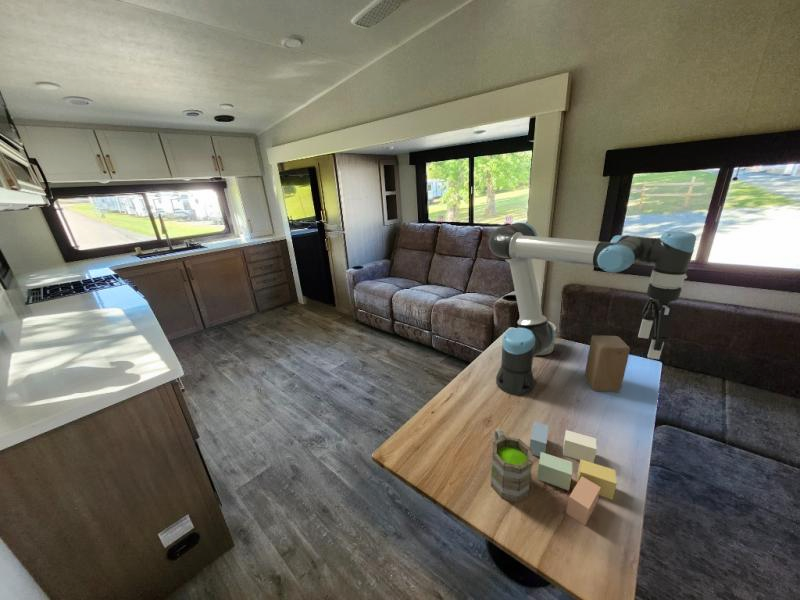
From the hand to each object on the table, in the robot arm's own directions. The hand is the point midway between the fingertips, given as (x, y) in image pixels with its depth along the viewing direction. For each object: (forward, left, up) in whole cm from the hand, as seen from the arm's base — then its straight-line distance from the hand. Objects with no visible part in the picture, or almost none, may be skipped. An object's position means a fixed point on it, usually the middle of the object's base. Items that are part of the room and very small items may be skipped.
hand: (647, 347), depth 98 cm
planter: (-35, +34, -27) cm, 55 cm away
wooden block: (-8, +14, -27) cm, 31 cm away
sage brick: (-22, -39, -26) cm, 52 cm away
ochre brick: (-12, -37, -26) cm, 47 cm away
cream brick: (-16, -27, -26) cm, 41 cm away
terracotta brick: (-15, -45, -26) cm, 55 cm away
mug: (-34, -44, -27) cm, 62 cm away
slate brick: (-27, -29, -26) cm, 48 cm away
